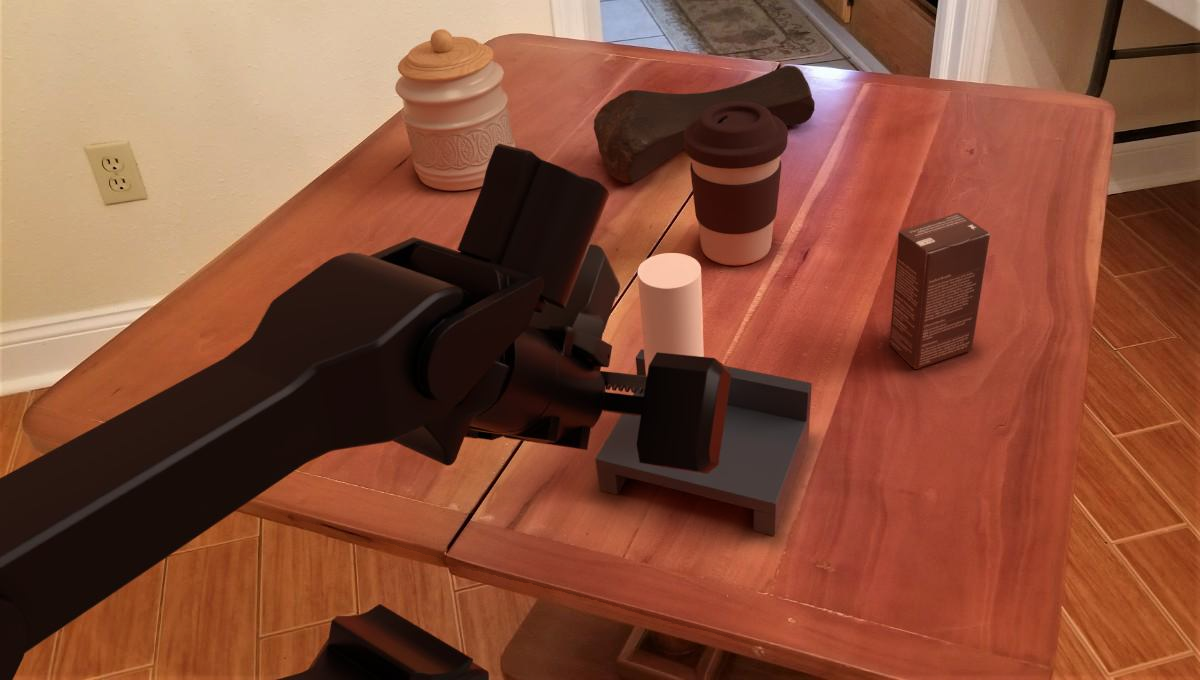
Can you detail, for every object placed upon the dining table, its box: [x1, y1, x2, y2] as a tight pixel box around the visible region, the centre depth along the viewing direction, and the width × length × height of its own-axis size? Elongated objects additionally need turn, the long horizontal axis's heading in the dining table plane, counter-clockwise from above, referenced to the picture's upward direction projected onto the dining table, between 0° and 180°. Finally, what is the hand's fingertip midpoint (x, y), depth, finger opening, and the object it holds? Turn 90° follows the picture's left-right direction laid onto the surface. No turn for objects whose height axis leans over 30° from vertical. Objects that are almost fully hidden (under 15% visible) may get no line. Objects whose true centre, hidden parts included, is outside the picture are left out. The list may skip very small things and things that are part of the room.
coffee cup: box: [684, 101, 789, 266], centre depth 94 cm, size 10×10×15 cm
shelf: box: [594, 348, 813, 537], centre depth 72 cm, size 10×14×6 cm
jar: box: [394, 28, 517, 191], centre depth 113 cm, size 13×13×18 cm
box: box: [888, 212, 991, 370], centre depth 79 cm, size 6×4×12 cm
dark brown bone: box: [593, 65, 816, 185], centre depth 115 cm, size 11×10×28 cm
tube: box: [637, 252, 705, 376], centre depth 68 cm, size 4×4×15 cm
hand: (617, 416), depth 62 cm, fingers open, 9 cm apart
